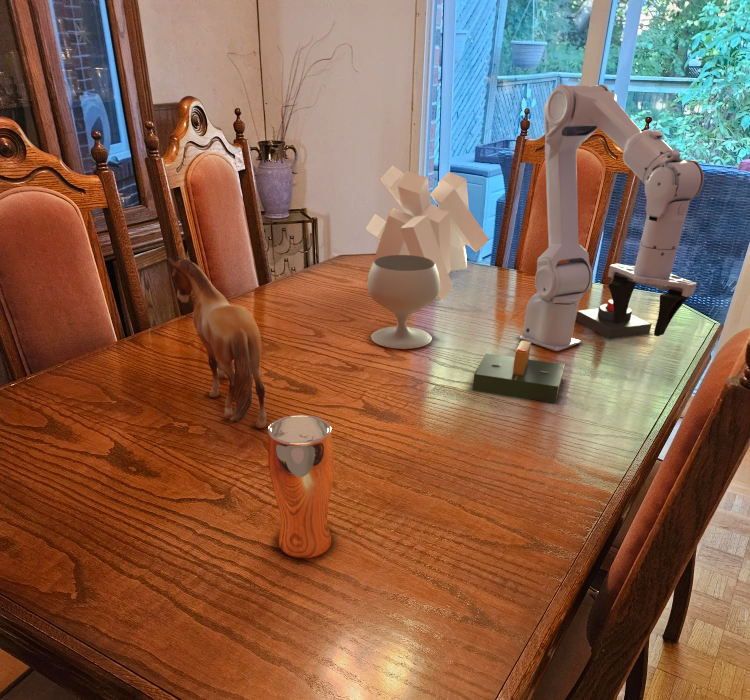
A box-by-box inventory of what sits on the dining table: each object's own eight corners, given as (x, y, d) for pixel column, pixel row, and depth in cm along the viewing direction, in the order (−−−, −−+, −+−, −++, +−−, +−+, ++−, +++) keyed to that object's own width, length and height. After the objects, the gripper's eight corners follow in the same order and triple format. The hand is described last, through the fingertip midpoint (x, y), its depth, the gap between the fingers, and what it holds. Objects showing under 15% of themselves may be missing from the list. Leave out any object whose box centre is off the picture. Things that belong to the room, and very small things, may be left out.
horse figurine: (185, 375, 117) (166, 254, 105) (228, 368, 120) (214, 249, 108) (234, 456, 94) (217, 313, 82) (286, 445, 97) (277, 305, 85)
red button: (602, 308, 141) (604, 300, 140) (616, 307, 142) (618, 298, 141) (613, 313, 138) (615, 305, 137) (627, 312, 139) (629, 303, 138)
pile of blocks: (391, 279, 187) (338, 161, 163) (495, 242, 178) (454, 110, 153) (389, 357, 165) (327, 233, 140) (508, 318, 155) (463, 178, 131)
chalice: (355, 345, 130) (355, 267, 122) (381, 323, 141) (383, 250, 133) (423, 356, 126) (428, 276, 118) (444, 333, 137) (450, 258, 128)
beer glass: (276, 526, 80) (267, 414, 72) (334, 524, 81) (332, 413, 72) (274, 562, 75) (264, 445, 66) (336, 560, 75) (334, 444, 67)
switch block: (575, 320, 145) (578, 302, 143) (613, 316, 148) (617, 298, 146) (609, 339, 136) (614, 320, 134) (649, 334, 139) (654, 315, 137)
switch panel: (472, 390, 114) (474, 373, 112) (484, 368, 122) (486, 352, 120) (555, 403, 110) (558, 385, 108) (561, 380, 118) (564, 363, 116)
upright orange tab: (517, 362, 117) (521, 339, 114) (527, 363, 116) (531, 340, 114) (512, 374, 112) (515, 350, 110) (523, 375, 112) (526, 351, 110)
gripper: (605, 240, 108) (588, 321, 116) (688, 258, 99) (665, 345, 107) (629, 234, 112) (611, 313, 120) (711, 251, 103) (687, 336, 111)
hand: (638, 328), depth 114 cm, fingers open, 7 cm apart
